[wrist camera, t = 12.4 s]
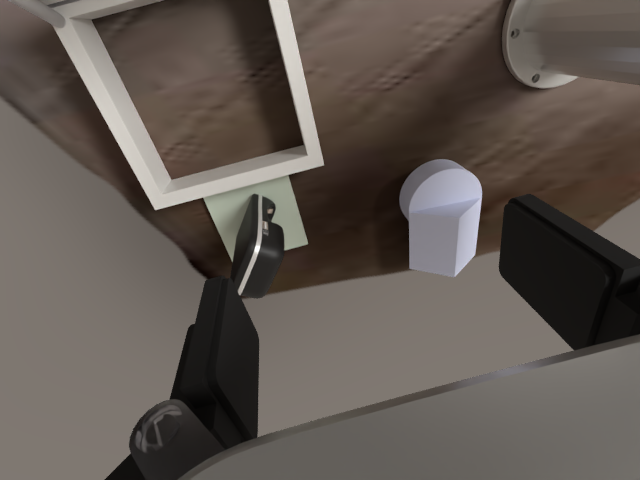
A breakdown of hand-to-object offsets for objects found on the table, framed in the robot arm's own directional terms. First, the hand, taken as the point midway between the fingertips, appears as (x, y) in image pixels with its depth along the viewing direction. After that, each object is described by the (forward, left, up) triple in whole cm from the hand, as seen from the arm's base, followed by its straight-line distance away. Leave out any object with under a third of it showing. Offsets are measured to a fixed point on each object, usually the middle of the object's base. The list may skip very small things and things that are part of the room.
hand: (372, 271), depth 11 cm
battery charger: (+8, +11, -28) cm, 31 cm away
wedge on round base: (-14, +16, -29) cm, 36 cm away
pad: (+8, +11, -28) cm, 31 cm away
